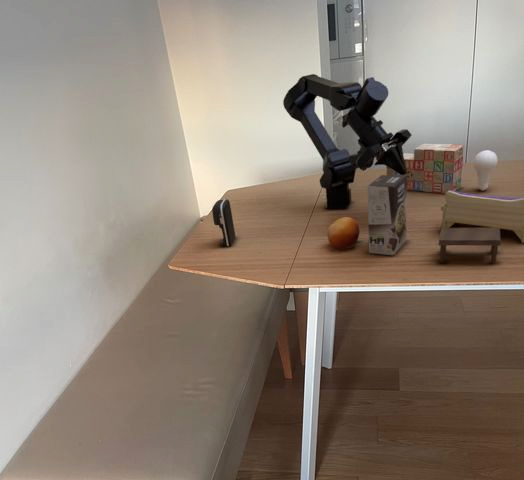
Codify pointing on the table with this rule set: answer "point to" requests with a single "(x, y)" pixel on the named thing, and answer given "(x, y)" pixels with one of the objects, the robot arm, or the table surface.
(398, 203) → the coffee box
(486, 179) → the lightbulb
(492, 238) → the coffee table
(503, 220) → the toy sofa
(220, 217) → the battery charger
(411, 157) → the stack of blocks
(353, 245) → the fruit
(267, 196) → the table surface
